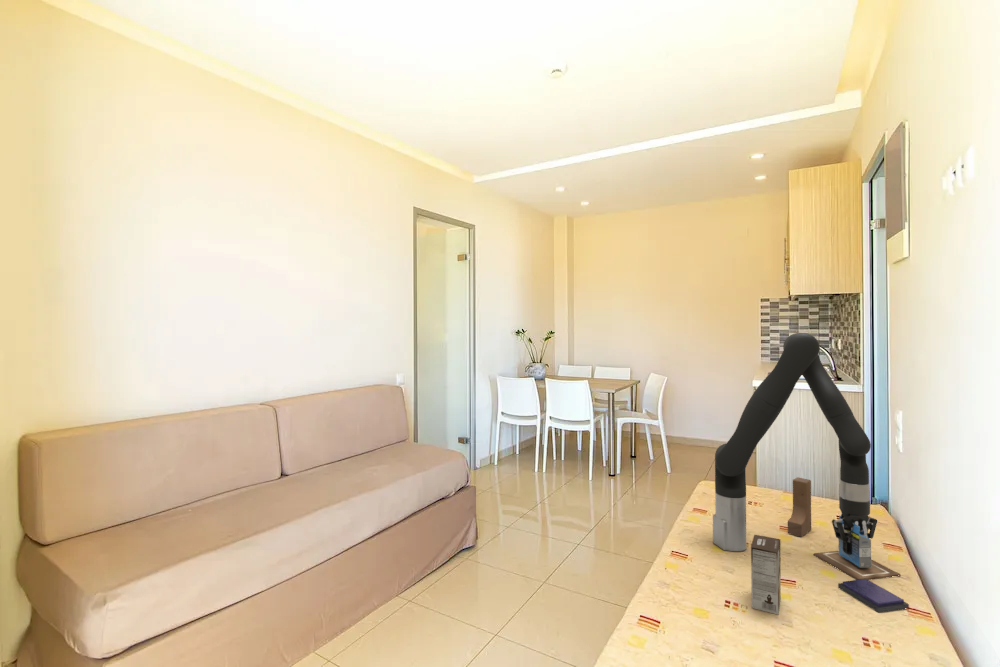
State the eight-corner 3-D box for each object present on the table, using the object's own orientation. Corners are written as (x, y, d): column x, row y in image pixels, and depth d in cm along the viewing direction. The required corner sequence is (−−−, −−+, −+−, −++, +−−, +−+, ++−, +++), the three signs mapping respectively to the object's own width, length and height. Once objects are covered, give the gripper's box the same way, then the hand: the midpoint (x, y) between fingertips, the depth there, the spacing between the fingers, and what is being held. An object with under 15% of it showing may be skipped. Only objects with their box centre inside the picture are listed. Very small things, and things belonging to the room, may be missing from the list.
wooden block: (801, 537, 167) (801, 485, 167) (787, 533, 170) (786, 482, 170) (811, 530, 172) (811, 479, 172) (797, 526, 176) (797, 476, 176)
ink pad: (878, 612, 123) (878, 604, 123) (838, 587, 135) (838, 580, 135) (908, 608, 125) (908, 601, 125) (866, 584, 136) (866, 577, 136)
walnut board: (858, 581, 138) (858, 578, 138) (813, 555, 154) (813, 552, 154) (900, 576, 141) (900, 573, 141) (851, 551, 156) (851, 549, 156)
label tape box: (872, 568, 143) (872, 526, 143) (858, 568, 143) (859, 526, 143) (849, 554, 152) (850, 514, 152) (837, 554, 152) (837, 514, 152)
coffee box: (754, 591, 134) (753, 533, 133) (781, 598, 130) (780, 538, 130) (751, 608, 126) (750, 546, 126) (779, 615, 122) (779, 552, 122)
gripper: (863, 490, 152) (863, 545, 152) (823, 493, 150) (823, 549, 150) (886, 499, 145) (886, 556, 145) (844, 502, 142) (844, 560, 142)
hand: (854, 552), depth 147 cm, fingers closed on label tape box, 4 cm apart
